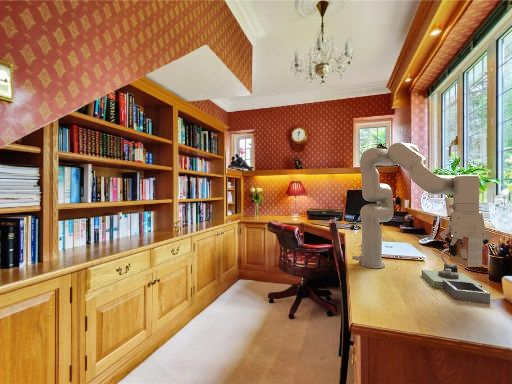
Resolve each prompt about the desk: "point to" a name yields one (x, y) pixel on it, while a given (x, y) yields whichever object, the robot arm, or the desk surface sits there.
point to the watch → (449, 266)
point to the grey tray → (466, 291)
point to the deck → (445, 277)
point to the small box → (468, 251)
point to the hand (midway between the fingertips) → (465, 256)
